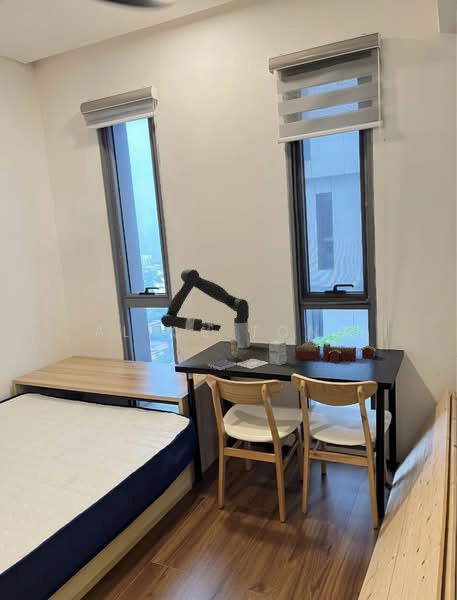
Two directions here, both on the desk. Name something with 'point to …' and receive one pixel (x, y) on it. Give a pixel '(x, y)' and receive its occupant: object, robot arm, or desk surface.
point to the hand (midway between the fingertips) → (219, 328)
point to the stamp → (234, 351)
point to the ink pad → (222, 364)
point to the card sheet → (252, 363)
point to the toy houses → (332, 353)
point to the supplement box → (277, 352)
